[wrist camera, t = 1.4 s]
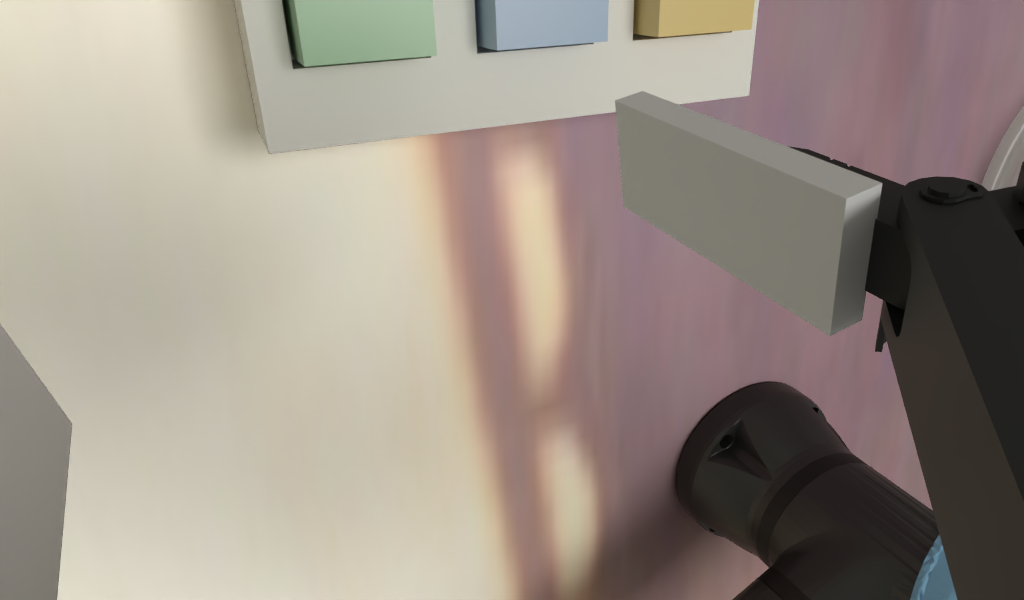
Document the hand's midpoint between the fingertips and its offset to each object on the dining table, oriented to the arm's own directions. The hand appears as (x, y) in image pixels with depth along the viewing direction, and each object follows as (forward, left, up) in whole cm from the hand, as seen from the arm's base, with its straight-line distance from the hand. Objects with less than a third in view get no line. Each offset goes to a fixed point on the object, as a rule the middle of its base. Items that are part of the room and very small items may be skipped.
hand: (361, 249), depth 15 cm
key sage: (-5, -5, -23) cm, 24 cm away
